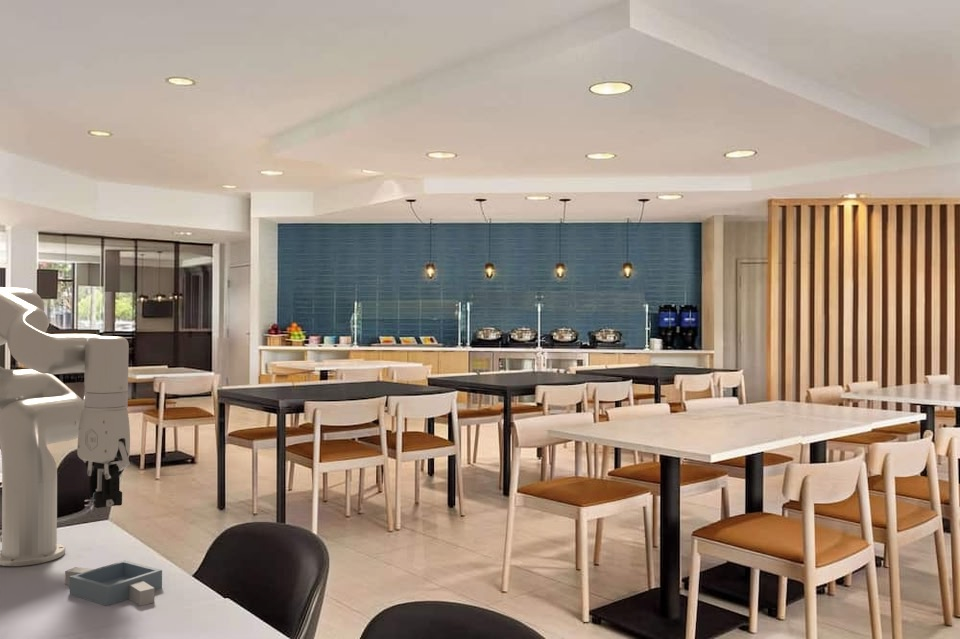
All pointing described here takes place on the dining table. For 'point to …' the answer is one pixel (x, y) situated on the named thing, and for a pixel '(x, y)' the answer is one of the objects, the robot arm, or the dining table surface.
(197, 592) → the dining table surface
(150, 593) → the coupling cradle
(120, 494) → the push button
